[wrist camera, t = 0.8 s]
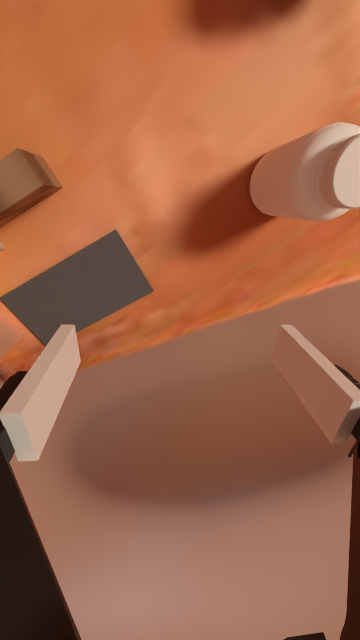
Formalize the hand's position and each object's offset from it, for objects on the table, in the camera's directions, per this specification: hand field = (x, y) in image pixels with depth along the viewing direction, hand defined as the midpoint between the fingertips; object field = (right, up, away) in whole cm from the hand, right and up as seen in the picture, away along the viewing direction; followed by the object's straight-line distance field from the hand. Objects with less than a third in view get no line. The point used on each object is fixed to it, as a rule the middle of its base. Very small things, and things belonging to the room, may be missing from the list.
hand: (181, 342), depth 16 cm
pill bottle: (+13, +20, +17) cm, 29 cm away
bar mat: (-15, +5, +21) cm, 26 cm away
